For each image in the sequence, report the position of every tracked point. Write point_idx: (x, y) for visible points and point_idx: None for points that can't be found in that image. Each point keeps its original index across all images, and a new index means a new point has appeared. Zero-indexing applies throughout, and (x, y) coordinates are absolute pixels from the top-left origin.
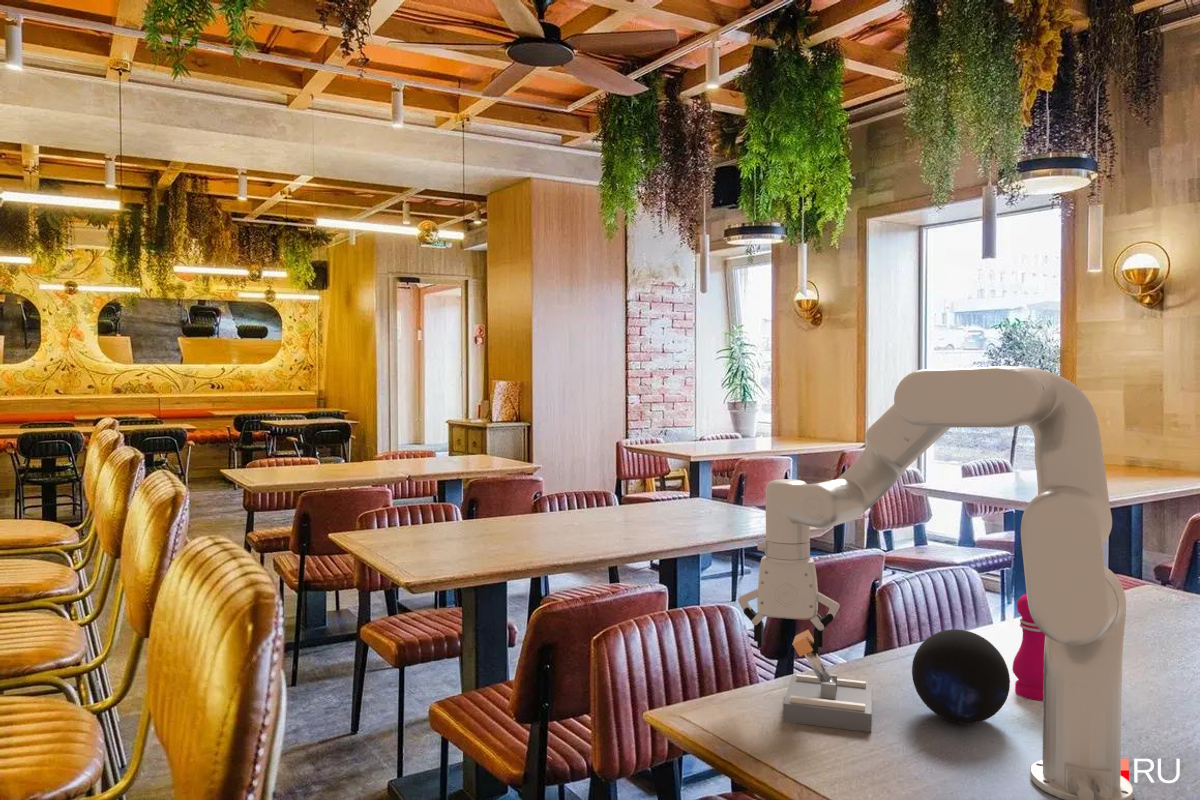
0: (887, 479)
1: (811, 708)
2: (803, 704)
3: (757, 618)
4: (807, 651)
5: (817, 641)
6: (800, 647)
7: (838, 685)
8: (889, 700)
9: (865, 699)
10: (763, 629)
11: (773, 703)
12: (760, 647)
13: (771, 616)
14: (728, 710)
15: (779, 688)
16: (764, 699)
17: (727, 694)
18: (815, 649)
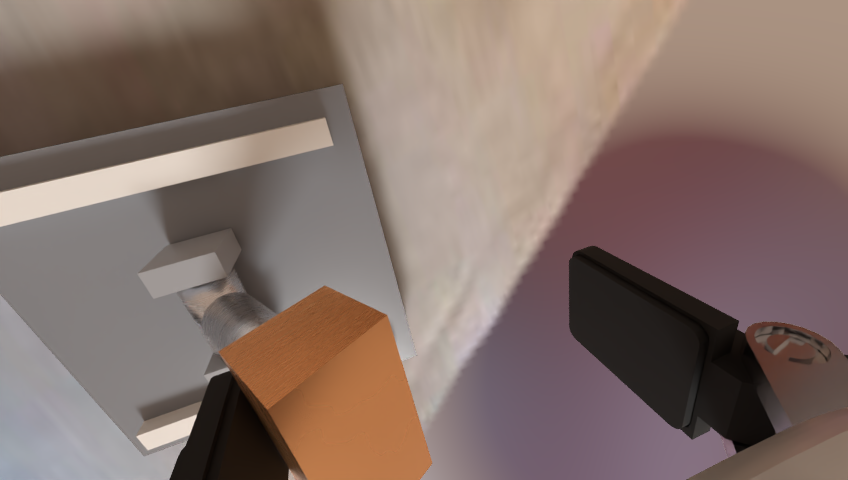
0: None
1: (219, 110)
2: (262, 120)
3: (818, 378)
4: (267, 326)
5: (187, 450)
6: (322, 324)
7: None
8: (127, 444)
9: (65, 325)
10: (635, 385)
11: (422, 221)
12: (574, 261)
13: (791, 440)
14: (524, 87)
15: (442, 328)
16: (454, 234)
17: (552, 208)
18: (224, 384)
